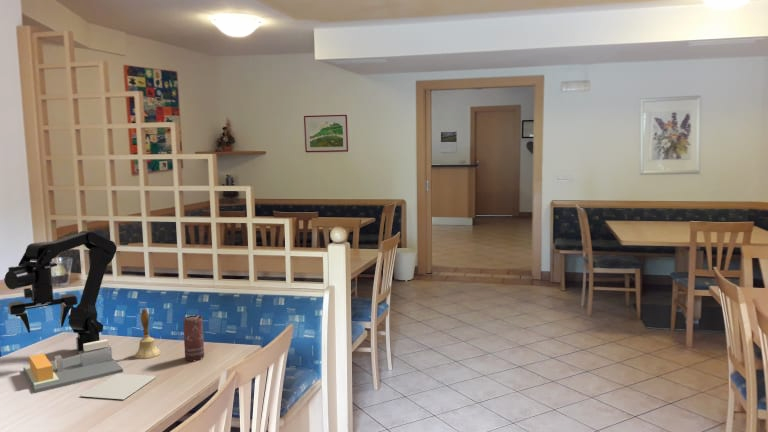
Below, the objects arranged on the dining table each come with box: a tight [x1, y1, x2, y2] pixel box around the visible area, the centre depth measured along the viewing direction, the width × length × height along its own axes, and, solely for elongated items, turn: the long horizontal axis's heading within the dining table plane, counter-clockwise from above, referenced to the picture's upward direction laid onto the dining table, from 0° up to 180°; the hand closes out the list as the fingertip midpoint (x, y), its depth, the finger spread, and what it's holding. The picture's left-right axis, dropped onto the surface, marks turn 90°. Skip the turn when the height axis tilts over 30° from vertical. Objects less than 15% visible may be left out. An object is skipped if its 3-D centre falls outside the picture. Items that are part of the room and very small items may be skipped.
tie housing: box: [54, 344, 113, 372], centre depth 185 cm, size 16×3×4 cm, turn 129°
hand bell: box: [134, 308, 162, 360], centre depth 196 cm, size 8×8×16 cm
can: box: [182, 315, 205, 361], centre depth 193 cm, size 6×6×14 cm
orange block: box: [28, 353, 53, 382], centre depth 178 cm, size 4×14×4 cm, turn 40°
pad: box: [25, 365, 59, 386], centre depth 178 cm, size 6×18×1 cm, turn 40°
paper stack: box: [79, 373, 158, 400], centre depth 165 cm, size 23×25×1 cm
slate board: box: [22, 355, 124, 393], centre depth 183 cm, size 24×22×1 cm
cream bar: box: [83, 338, 109, 351], centre depth 187 cm, size 7×2×2 cm, turn 129°
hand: (45, 329), depth 187 cm, fingers open, 9 cm apart
